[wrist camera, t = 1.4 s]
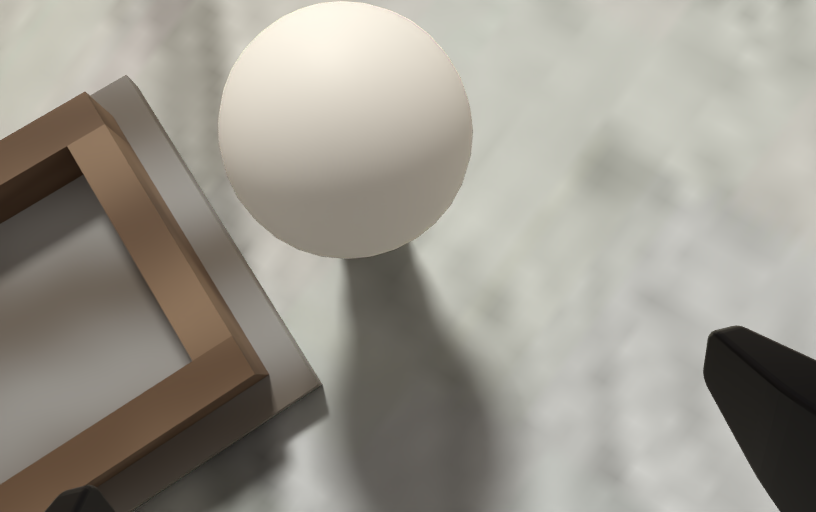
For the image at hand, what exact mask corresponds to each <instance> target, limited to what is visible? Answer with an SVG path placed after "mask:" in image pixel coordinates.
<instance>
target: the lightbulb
mask: <svg viewBox="0 0 816 512" xmlns="http://www.w3.org/2000/svg"><path fill="white" fill-rule="evenodd" d="M218 129H219V146H220V150H221V154H222V158H223V162H224V166H225V170H226V174H227V177H228V179H229V181H230V183H231V185H232V187H233V189H234V191H235V193H236V195H237V197H238V199H239V200H240V201H241V203H242V204H243V205H244V206H245V208H246V209H247V210H248V211H249V213H250V214H251V215H252V217H253V218H254V219H255V220H256V221H257V222H258V223H259V224H261V225H262V226H263V227H264V228H265V229H267V230H268V231H269V232H270V233H271V234H273V235H274V236H275V237H276V238H278V239H280V240H281V241H283V242H285V243H287V244H289V245H291V246H293V247H294V248H296V249H298V250H302V251H305V252H308V253H312V254H315V255H318V256H321V257H331V258H341V259H351V258H362V257H371V256H375V255H378V254H382V253H385V252H388V251H392V250H395V249H397V248H399V247H401V246H403V245H405V244H407V243H408V242H410V241H412V240H414V239H416V238H418V237H419V236H420V235H421V234H423V233H424V232H425V231H426V230H428V229H429V228H430V227H431V226H433V225H434V224H435V223H436V222H437V221H438V220H439V218H440V217H441V216H442V215H443V214H444V213H445V211H446V210H447V209H448V208H449V207H450V205H451V204H452V202H453V200H454V198H455V196H456V195H457V193H458V191H459V189H460V187H461V185H462V183H463V180H464V176H465V173H466V170H467V167H468V163H469V160H470V156H471V148H472V137H473V127H472V119H471V111H470V105H469V101H468V98H467V95H466V92H465V89H464V86H463V83H462V80H461V77H460V75H459V74H458V72H457V70H456V69H455V67H454V65H453V64H452V62H451V60H450V59H449V57H448V56H447V54H446V53H445V52H444V50H443V49H442V48H441V47H440V46H439V45H438V43H437V42H436V41H435V40H434V39H433V38H432V37H431V36H430V35H429V34H428V33H427V32H426V31H425V30H423V29H422V28H421V27H419V26H418V25H416V24H415V23H414V22H412V21H411V20H410V19H407V18H405V17H403V16H401V15H399V14H397V13H395V12H393V11H391V10H388V9H385V8H381V7H377V6H374V5H370V4H366V3H358V2H347V1H337V2H326V3H319V4H315V5H311V6H308V7H304V8H300V9H298V10H296V11H294V12H292V13H290V14H288V15H285V16H283V17H281V18H280V19H278V20H277V21H276V22H274V23H273V24H271V25H270V26H269V27H267V28H266V29H264V30H263V31H262V32H261V33H259V34H258V35H257V37H256V38H255V39H254V40H253V41H252V42H251V43H250V44H249V45H248V46H247V47H246V48H245V49H244V50H243V52H242V53H241V55H240V57H239V58H238V60H237V61H236V63H235V64H234V66H233V67H232V69H231V72H230V74H229V77H228V79H227V82H226V84H225V87H224V89H223V95H222V100H221V106H220V112H219V119H218Z"/></svg>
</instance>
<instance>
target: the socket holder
mask: <svg viewBox="0 0 816 512" xmlns="http://www.w3.org/2000/svg"><path fill="white" fill-rule="evenodd" d="M321 385H322V383H321V382H320V380H319V378H318V377H317V375H316V373H315V372H314V370H313V369H312V367H311V365H310V364H309V362H308V361H307V359H306V357H305V356H304V354H303V353H302V351H301V349H300V348H299V346H298V344H297V343H296V341H295V340H294V338H293V336H292V335H291V333H290V332H289V330H288V328H287V327H286V325H285V323H284V322H283V320H282V319H281V317H280V315H279V314H278V312H277V311H276V309H275V307H274V306H273V304H272V303H271V301H270V299H269V298H268V296H267V294H266V293H265V291H264V290H263V288H262V286H261V285H260V283H259V282H258V280H257V278H256V277H255V275H254V273H253V272H252V270H251V269H250V267H249V265H248V264H247V262H246V261H245V259H244V257H243V256H242V254H241V253H240V251H239V249H238V248H237V246H236V244H235V243H234V241H233V240H232V238H231V236H230V235H229V233H228V232H227V230H226V228H225V227H224V225H223V224H222V222H221V220H220V219H219V217H218V215H217V214H216V212H215V211H214V209H213V207H212V206H211V204H210V203H209V201H208V199H207V198H206V196H205V194H204V193H203V191H202V190H201V188H200V186H199V185H198V183H197V182H196V180H195V178H194V177H193V175H192V174H191V172H190V170H189V169H188V167H187V165H186V164H185V162H184V161H183V159H182V157H181V156H180V154H179V153H178V151H177V149H176V148H175V146H174V144H173V143H172V141H171V140H170V138H169V136H168V135H167V133H166V132H165V130H164V128H163V127H162V125H161V124H160V122H159V120H158V119H157V117H156V115H155V114H154V112H153V111H152V109H151V107H150V106H149V104H148V103H147V101H146V99H145V98H144V96H143V95H142V93H141V91H140V90H139V88H138V87H137V86H136V85H135V83H134V82H133V81H132V80H131V79H130V78H129V77H128V76H127V75H125V76H123V77H122V78H120V79H118V80H116V81H115V82H113V83H111V84H110V85H108V86H106V87H104V88H103V89H101V90H99V91H97V92H96V93H94V94H92V95H91V96H90V95H88V94H87V93H86V92H83V93H82V94H80V95H78V96H76V97H75V98H73V99H71V100H70V101H68V102H66V103H64V104H63V105H61V106H59V107H57V108H56V109H54V110H52V111H50V112H49V113H47V114H45V115H44V116H42V117H40V118H38V119H37V120H35V121H33V122H31V123H30V124H28V125H26V126H24V127H23V128H21V129H19V130H17V131H16V132H14V133H12V134H11V135H9V136H7V137H5V138H4V139H2V140H0V512H44V511H45V510H46V509H47V508H48V507H49V505H50V504H51V503H52V502H53V501H54V500H55V498H56V497H57V496H58V495H59V494H61V493H62V492H64V491H66V490H69V489H73V488H78V487H82V486H86V485H93V486H95V487H97V488H98V489H99V490H100V492H101V493H102V494H103V496H104V497H105V498H106V500H107V501H108V502H109V504H110V505H111V506H112V508H113V509H114V510H115V512H131V511H132V510H134V509H135V508H137V507H138V506H140V505H142V504H143V503H145V502H146V501H148V500H149V499H151V498H152V497H154V496H155V495H157V494H158V493H160V492H161V491H163V490H164V489H166V488H167V487H169V486H170V485H172V484H173V483H175V482H176V481H178V480H179V479H181V478H182V477H184V476H185V475H187V474H188V473H190V472H191V471H193V470H194V469H196V468H197V467H199V466H200V465H202V464H203V463H205V462H206V461H208V460H209V459H211V458H212V457H214V456H215V455H217V454H218V453H220V452H221V451H223V450H224V449H226V448H227V447H229V446H230V445H232V444H233V443H235V442H236V441H238V440H239V439H241V438H242V437H244V436H245V435H247V434H249V433H250V432H252V431H253V430H255V429H256V428H258V427H259V426H261V425H262V424H264V423H265V422H267V421H268V420H270V419H271V418H273V417H274V416H276V415H277V414H279V413H280V412H282V411H283V410H285V409H286V408H288V407H289V406H291V405H292V404H294V403H295V402H297V401H298V400H300V399H301V398H303V397H304V396H306V395H307V394H309V393H310V392H312V391H313V390H315V389H316V388H318V387H319V386H321Z"/></svg>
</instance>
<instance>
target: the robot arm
mask: <svg viewBox="0 0 816 512" xmlns="http://www.w3.org/2000/svg"><path fill="white" fill-rule="evenodd" d="M703 374H704V379H705V382H706V385H707V387H708V389H709V391H710V393H711V395H712V396H713V398H714V400H715V402H716V404H717V406H718V407H719V409H720V411H721V413H722V415H723V417H724V418H725V420H726V422H727V424H728V426H729V428H730V429H731V431H732V433H733V435H734V437H735V439H736V440H737V442H738V444H739V446H740V448H741V450H742V451H743V453H744V455H745V457H746V459H747V461H748V462H749V464H750V466H751V468H752V469H753V471H754V473H755V474H756V476H757V478H758V479H759V481H760V483H761V484H762V486H763V487H764V489H765V490H766V492H767V493H768V495H769V496H770V498H771V499H772V500H773V502H774V503H775V505H776V506H777V508H778V509H779V511H780V512H816V360H814V359H812V358H810V357H808V356H806V355H804V354H801V353H799V352H797V351H795V350H793V349H791V348H788V347H786V346H784V345H782V344H780V343H778V342H775V341H773V340H771V339H769V338H767V337H765V336H762V335H760V334H758V333H756V332H754V331H752V330H749V329H747V328H745V327H742V326H731V327H727V328H723V329H718V330H715V331H713V332H711V333H710V335H709V336H708V341H707V348H706V355H705V361H704V368H703ZM44 512H115V510H114V509H113V508H112V506H111V505H110V504H109V502H108V501H107V500H106V498H105V497H104V496H103V494H102V493H101V492H100V490H99V489H98V488H97V487H95V486H93V485H86V486H82V487H78V488H73V489H69V490H66V491H64V492H62V493H61V494H59V495H58V496H57V497H56V498H55V500H54V501H53V502H52V503H51V504H50V505H49V507H48V508H47V509H46V510H45V511H44Z"/></svg>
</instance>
